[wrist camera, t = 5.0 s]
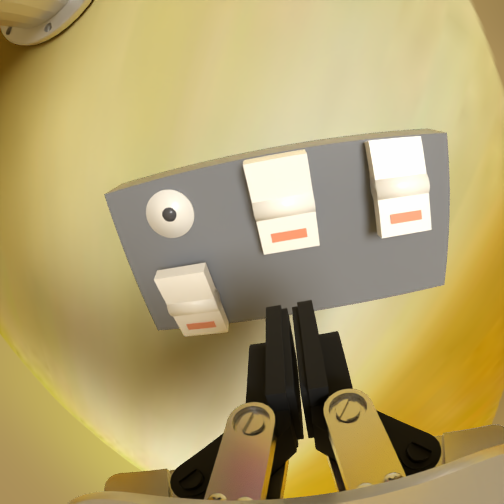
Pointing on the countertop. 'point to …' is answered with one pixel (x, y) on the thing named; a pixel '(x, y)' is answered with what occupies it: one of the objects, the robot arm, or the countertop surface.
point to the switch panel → (288, 262)
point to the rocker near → (399, 185)
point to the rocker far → (192, 299)
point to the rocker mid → (282, 201)
